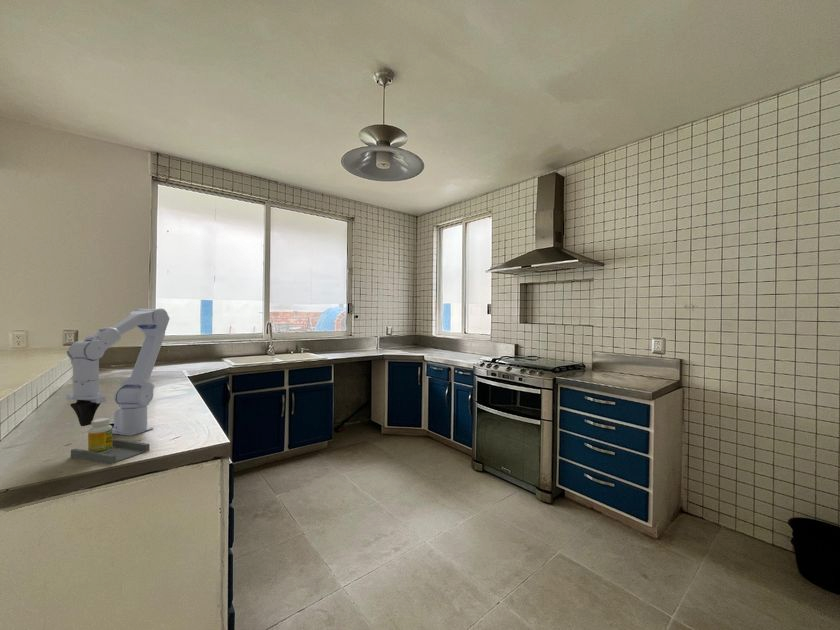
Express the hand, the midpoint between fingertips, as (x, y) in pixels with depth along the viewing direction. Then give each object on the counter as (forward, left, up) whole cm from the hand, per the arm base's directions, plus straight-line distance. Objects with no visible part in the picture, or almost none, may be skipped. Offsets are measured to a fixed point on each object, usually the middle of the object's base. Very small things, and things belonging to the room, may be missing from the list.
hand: (86, 425), depth 106 cm
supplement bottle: (+6, 0, -8) cm, 10 cm away
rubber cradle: (+11, 0, -7) cm, 13 cm away
